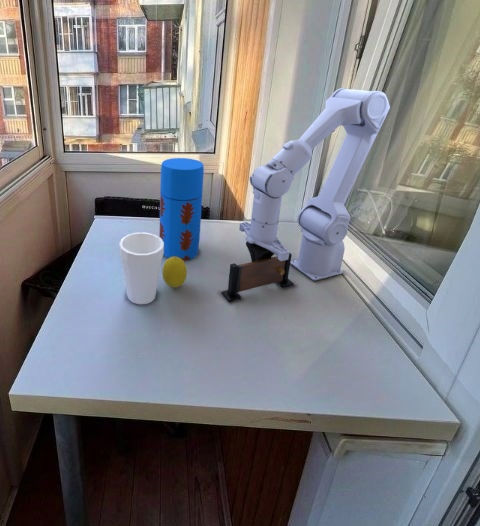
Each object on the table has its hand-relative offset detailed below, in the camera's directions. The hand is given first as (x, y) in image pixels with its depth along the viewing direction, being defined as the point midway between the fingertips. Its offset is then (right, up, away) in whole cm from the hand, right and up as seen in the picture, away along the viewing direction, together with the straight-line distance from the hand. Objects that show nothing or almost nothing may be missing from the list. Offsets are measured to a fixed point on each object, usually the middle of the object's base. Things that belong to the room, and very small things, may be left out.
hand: (258, 270), depth 78 cm
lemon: (-20, -3, -2) cm, 21 cm away
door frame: (-1, -3, -3) cm, 4 cm away
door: (-1, -3, -3) cm, 4 cm away
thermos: (-17, +1, +13) cm, 22 cm away
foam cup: (-28, -4, -4) cm, 28 cm away
